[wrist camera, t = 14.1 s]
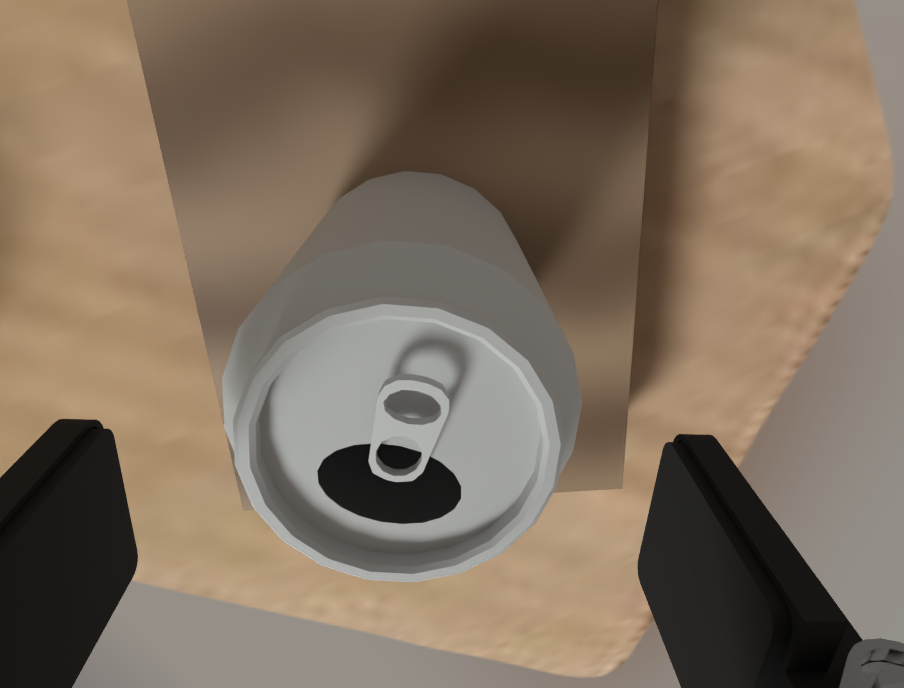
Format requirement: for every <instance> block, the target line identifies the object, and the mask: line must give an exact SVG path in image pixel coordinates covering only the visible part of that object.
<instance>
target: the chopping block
mask: <svg viewBox="0 0 904 688" xmlns="http://www.w3.org/2000/svg"><path fill="white" fill-rule="evenodd" d="M127 3H128V8H129V12H130V16H131V21H132V25H133V30H134V34H135V38H136V43H137V47H138V51H139V56H140V60H141V64H142V69H143V73H144V78H145V82H146V86H147V91H148V95H149V99H150V104H151V108H152V113H153V117H154V121H155V126H156V130H157V134H158V139H159V143H160V148H161V152H162V156H163V161H164V165H165V169H166V174H167V178H168V183H169V187H170V191H171V196H172V200H173V204H174V209H175V213H176V218H177V222H178V226H179V231H180V235H181V239H182V244H183V248H184V253H185V257H186V261H187V266H188V270H189V274H190V279H191V283H192V287H193V292H194V296H195V301H196V305H197V309H198V314H199V318H200V322H201V327H202V331H203V336H204V340H205V344H206V349H207V353H208V357H209V362H210V366H211V371H212V375H213V379H214V384H215V388H216V392H217V397H218V401H219V406H220V410H221V414H222V419H223V423H224V408H223V388H222V377H223V374H224V371H225V368H226V365H227V362H228V359H229V356H230V353H231V350H232V347H233V344H234V340H235V337H236V334H237V331H238V329H239V327H240V326H241V325H242V323H243V322H244V321H245V319H246V318H247V317H248V316H249V314H250V313H251V312H252V310H253V309H254V308H255V306H256V305H257V304H258V302H259V301H260V300H261V299H262V297H263V296H264V295H265V293H266V292H267V291H268V289H269V288H270V287H271V285H272V284H273V283H274V282H275V280H276V279H277V278H278V276H279V275H280V274H281V272H282V271H283V270H284V268H285V267H286V266H287V265H288V263H289V262H290V261H291V259H292V258H293V257H294V255H295V254H296V253H297V251H298V250H299V249H300V248H301V246H302V245H303V244H304V242H305V241H306V240H307V238H308V237H309V236H310V234H311V233H312V232H313V231H314V229H315V228H316V227H317V225H318V224H319V223H320V222H321V220H322V219H323V218H324V217H325V215H326V214H327V213H328V212H329V210H330V209H331V208H332V207H333V205H334V204H335V203H336V202H337V200H338V199H339V198H340V197H342V196H344V195H345V194H347V193H348V192H350V191H352V190H353V189H355V188H356V187H358V186H359V185H361V184H363V183H364V182H366V181H367V180H369V179H373V178H377V177H381V176H385V175H390V174H394V173H398V172H402V171H411V172H422V173H434V174H442V175H444V176H446V177H449V178H451V179H453V180H456V181H458V182H460V183H463V184H465V185H467V186H469V187H472V188H474V189H475V190H476V191H478V192H479V193H480V194H481V195H482V196H483V197H484V198H485V199H486V200H488V201H489V202H490V203H491V204H492V205H493V206H494V207H495V208H496V209H498V210H499V211H500V212H501V214H502V216H503V217H504V219H505V221H506V223H507V224H508V226H509V228H510V230H511V231H512V233H513V235H514V237H515V238H516V240H517V242H518V244H519V246H520V248H521V250H522V252H523V254H524V256H525V258H526V260H527V262H528V264H529V266H530V268H531V270H532V272H533V274H534V276H535V278H536V280H537V282H538V284H539V286H540V288H541V290H542V292H543V294H544V296H545V298H546V300H547V302H548V304H549V306H550V308H551V309H552V311H553V313H554V315H555V317H556V319H557V321H558V323H559V325H560V327H561V329H562V331H563V333H564V335H565V337H566V339H567V341H568V343H569V345H570V347H571V349H572V351H573V353H574V358H575V364H576V370H577V376H578V382H579V388H580V394H581V400H582V407H581V412H580V417H579V423H578V428H577V433H576V438H575V444H574V449H573V453H572V454H571V456H570V458H569V459H568V461H567V463H566V465H565V466H564V468H563V470H562V472H561V473H560V475H559V479H558V484H557V487H556V488H555V490H554V492H571V491H589V490H606V489H622V485H623V472H624V458H625V444H626V431H627V417H628V403H629V390H630V376H631V363H632V349H633V335H634V322H635V308H636V295H637V281H638V267H639V254H640V240H641V227H642V213H643V199H644V186H645V172H646V158H647V145H648V131H649V118H650V104H651V90H652V77H653V63H654V50H655V36H656V22H657V9H658V0H127ZM225 432H226V431H225ZM226 436H227V434H226ZM227 441H228V445H229V449H230V454H231V458H232V462H233V467H234V471H235V476H236V480H237V484H238V489H239V493H240V497H241V502H242V506H243V510H255V509H254V508H253V507H252V505H251V502H250V500H249V497H248V495H247V493H246V490H245V488H244V486H243V483H242V481H241V479H240V476H239V474H238V471H237V469H236V467H235V456H234V451H233V448H232V446H231V443H230V441H229V439H228V436H227ZM554 492H553V493H554Z"/></svg>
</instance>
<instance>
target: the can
mask: <svg viewBox="0 0 904 688" xmlns="http://www.w3.org/2000/svg"><path fill="white" fill-rule="evenodd" d="M222 388H223V408H224V428H225V431H226V434H227V436H228V439H229V441H230V443H231V446H232V448H233V451H234V456H235V467H236V469H237V471H238V474H239V476H240V479H241V481H242V483H243V486H244V488H245V490H246V493H247V495H248V497H249V500H250V502H251V505H252V507H253V508H254V509H255V510H256V511H257V513H258V514H259V515H260V516H261V517H262V518H263V519H264V520H265V522H266V523H267V524H268V525H269V526H270V527H271V528H272V530H273V531H274V532H275V533H276V534H277V535H278V536H279V537H280V539H281V540H282V541H283V542H285V543H286V544H288V545H290V546H291V547H293V548H294V549H296V550H298V551H299V552H301V553H302V554H304V555H306V556H307V557H309V558H310V559H312V560H314V561H315V562H317V563H318V564H320V565H322V566H324V567H327V568H331V569H334V570H337V571H340V572H344V573H347V574H350V575H353V576H357V577H360V578H363V579H366V580H380V581H399V582H419V581H424V580H429V579H434V578H439V577H444V576H449V575H454V574H459V573H462V572H464V571H466V570H468V569H470V568H472V567H474V566H477V565H479V564H481V563H483V562H485V561H487V560H489V559H491V558H493V557H495V556H497V555H499V554H501V553H503V552H504V551H505V550H506V549H507V548H508V547H509V546H510V545H512V544H513V543H514V542H515V541H516V540H517V539H518V538H519V537H520V536H522V535H523V534H524V533H525V532H526V531H527V530H528V529H529V528H530V527H532V526H533V525H534V524H535V523H536V521H537V519H538V518H539V516H540V514H541V512H542V511H543V509H544V507H545V506H546V504H547V502H548V500H549V499H550V497H551V495H552V493H553V492H554V490H555V488H556V487H557V484H558V479H559V475H560V473H561V472H562V470H563V468H564V466H565V465H566V463H567V461H568V459H569V458H570V456H571V454H572V453H573V449H574V444H575V438H576V433H577V428H578V423H579V417H580V412H581V407H582V400H581V394H580V388H579V382H578V376H577V370H576V364H575V358H574V353H573V351H572V349H571V347H570V345H569V343H568V341H567V339H566V337H565V335H564V333H563V331H562V329H561V327H560V325H559V323H558V321H557V319H556V317H555V315H554V313H553V311H552V309H551V308H550V306H549V304H548V302H547V300H546V298H545V296H544V294H543V292H542V290H541V288H540V286H539V284H538V282H537V280H536V278H535V276H534V274H533V272H532V270H531V268H530V266H529V264H528V262H527V260H526V258H525V256H524V254H523V252H522V250H521V248H520V246H519V244H518V242H517V240H516V238H515V237H514V235H513V233H512V231H511V230H510V228H509V226H508V224H507V223H506V221H505V219H504V217H503V216H502V214H501V212H500V211H499V210H498V209H496V208H495V207H494V206H493V205H492V204H491V203H490V202H489V201H488V200H486V199H485V198H484V197H483V196H482V195H481V194H480V193H479V192H478V191H476V190H475V189H474V188H472V187H469V186H467V185H465V184H463V183H460V182H458V181H456V180H453V179H451V178H449V177H446V176H444V175H442V174H434V173H422V172H411V171H402V172H398V173H394V174H390V175H385V176H381V177H377V178H373V179H369V180H367V181H366V182H364V183H363V184H361V185H359V186H358V187H356V188H355V189H353V190H352V191H350V192H348V193H347V194H345V195H344V196H342V197H340V198H339V199H338V200H337V202H336V203H335V204H334V205H333V207H332V208H331V209H330V210H329V212H328V213H327V214H326V215H325V217H324V218H323V219H322V220H321V222H320V223H319V224H318V225H317V227H316V228H315V229H314V231H313V232H312V233H311V234H310V236H309V237H308V238H307V240H306V241H305V242H304V244H303V245H302V246H301V248H300V249H299V250H298V251H297V253H296V254H295V255H294V257H293V258H292V259H291V261H290V262H289V263H288V265H287V266H286V267H285V268H284V270H283V271H282V272H281V274H280V275H279V276H278V278H277V279H276V280H275V282H274V283H273V284H272V285H271V287H270V288H269V289H268V291H267V292H266V293H265V295H264V296H263V297H262V299H261V300H260V301H259V302H258V304H257V305H256V306H255V308H254V309H253V310H252V312H251V313H250V314H249V316H248V317H247V318H246V319H245V321H244V322H243V323H242V325H241V326H240V327H239V329H238V331H237V334H236V337H235V340H234V344H233V347H232V350H231V353H230V356H229V359H228V362H227V365H226V368H225V371H224V374H223V377H222Z"/></svg>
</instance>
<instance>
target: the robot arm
mask: <svg viewBox="0 0 904 688" xmlns="http://www.w3.org/2000/svg"><path fill="white" fill-rule="evenodd" d="M137 561H138V554H137V548H136V543H135V538H134V533H133V528H132V523H131V518H130V513H129V508H128V503H127V498H126V493H125V488H124V483H123V478H122V473H121V468H120V464H119V459H118V454H117V449H116V444H115V439H114V435H113V433H112V431H111V430H110V429H104V428H103V425H102V424H101V423H100V421H98V420H83V419H60V420H58V421H56V422H55V423H54V424H53V425H52V426H51V427H50V428H49V429H48V430H47V431H46V432H45V433H44V434H43V435H42V436H41V437H40V438H39V439H38V440H37V441H36V442H35V443H34V444H33V445H32V446H31V447H30V448H29V449H28V450H27V451H26V452H25V453H24V454H23V455H22V456H21V457H20V458H19V459H18V460H17V461H16V462H15V463H14V464H13V465H12V466H11V467H10V468H9V469H8V470H7V471H6V472H5V474H4V475H3V476H2V477H1V478H0V688H72V686H73V684H74V683H75V681H76V679H77V677H78V675H79V674H80V672H81V670H82V668H83V666H84V665H85V663H86V661H87V659H88V657H89V656H90V654H91V652H92V650H93V648H94V646H95V644H96V643H97V641H98V639H99V637H100V635H101V634H102V632H103V630H104V628H105V627H106V625H107V623H108V621H109V619H110V618H111V616H112V614H113V612H114V610H115V608H116V607H117V605H118V603H119V601H120V599H121V598H122V596H123V594H124V592H125V590H126V588H127V586H128V585H129V583H130V581H131V580H132V578H133V576H134V573H135V570H136V567H137ZM638 576H639V580H640V583H641V586H642V589H643V591H644V594H645V596H646V599H647V601H648V604H649V606H650V609H651V612H652V614H653V617H654V619H655V622H656V624H657V626H658V629H659V632H660V634H661V637H662V640H663V642H664V645H665V647H666V650H667V652H668V655H669V657H670V660H671V663H672V665H673V668H674V670H675V673H676V675H677V678H678V680H679V683H680V686H681V688H904V644H903V643H901V642H896V641H891V640H886V639H866V640H862V639H861V637H860V636H859V635H858V633H857V632H856V630H855V629H854V628H853V626H852V625H851V624H850V622H849V621H848V619H847V618H846V617H845V615H844V614H843V612H842V611H841V610H840V608H839V607H838V606H837V604H836V603H835V601H834V600H833V599H832V597H831V596H830V595H829V593H828V592H827V590H826V589H825V588H824V586H823V585H822V584H821V582H820V581H819V579H818V578H817V577H816V575H815V574H814V573H813V571H812V570H811V569H810V567H809V566H808V565H807V563H806V562H805V560H804V559H803V558H802V556H801V555H800V553H799V552H798V551H797V549H796V548H795V547H794V545H793V544H792V542H791V541H790V539H789V538H788V537H787V535H786V534H785V533H784V531H783V530H782V529H781V527H780V526H779V524H778V523H777V522H776V520H775V519H774V518H773V517H772V515H771V514H770V512H769V511H768V510H767V508H766V507H765V505H764V504H763V503H762V501H761V500H760V499H759V497H758V496H757V494H756V493H755V492H754V490H753V489H752V488H751V486H750V485H749V483H748V482H747V481H746V479H745V478H744V477H743V475H742V474H741V472H740V471H739V470H738V468H737V467H736V465H735V464H734V463H733V461H732V460H731V459H730V457H729V456H728V454H727V453H726V452H725V450H724V449H723V448H722V446H721V445H720V443H719V442H718V441H717V439H716V438H715V437H714V436H712V435H692V434H679V435H677V436H676V437H675V439H674V441H673V442H667V443H666V444H665V445H664V448H663V451H662V456H661V460H660V465H659V469H658V474H657V478H656V483H655V487H654V491H653V496H652V500H651V505H650V509H649V514H648V518H647V523H646V527H645V532H644V536H643V541H642V545H641V549H640V554H639V558H638Z"/></svg>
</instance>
